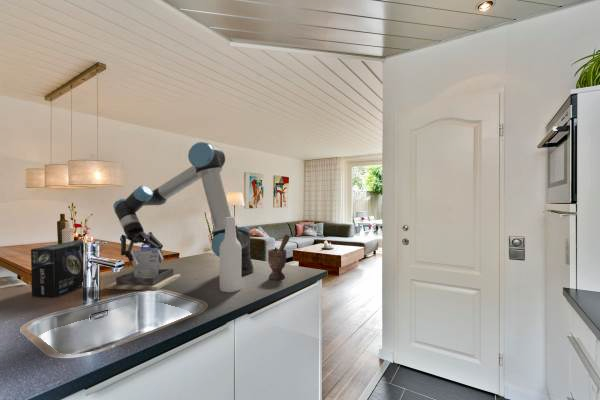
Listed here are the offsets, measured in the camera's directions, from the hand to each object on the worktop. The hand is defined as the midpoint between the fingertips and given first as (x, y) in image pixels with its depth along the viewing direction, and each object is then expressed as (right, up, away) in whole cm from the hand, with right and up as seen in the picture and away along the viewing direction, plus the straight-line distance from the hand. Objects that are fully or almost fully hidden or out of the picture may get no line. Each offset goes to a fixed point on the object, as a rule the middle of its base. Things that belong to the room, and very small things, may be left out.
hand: (149, 263), depth 130 cm
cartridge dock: (-2, -9, +2) cm, 9 cm away
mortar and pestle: (+57, -9, +10) cm, 58 cm away
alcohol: (+38, -9, -9) cm, 40 cm away
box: (-30, -9, -7) cm, 33 cm away
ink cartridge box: (-2, -6, +2) cm, 7 cm away
